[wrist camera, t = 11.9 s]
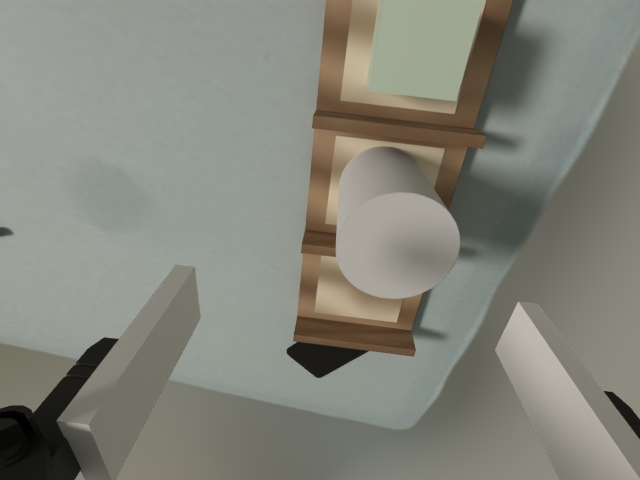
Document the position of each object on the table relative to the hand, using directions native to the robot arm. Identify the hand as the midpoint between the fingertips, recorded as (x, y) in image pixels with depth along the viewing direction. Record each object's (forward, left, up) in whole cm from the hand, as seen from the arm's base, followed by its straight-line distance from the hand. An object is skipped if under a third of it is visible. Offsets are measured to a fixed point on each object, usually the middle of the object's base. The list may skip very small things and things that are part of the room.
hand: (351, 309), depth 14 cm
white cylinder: (+2, +3, -21) cm, 21 cm away
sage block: (-10, +3, -21) cm, 23 cm away
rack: (+2, +3, -22) cm, 22 cm away
